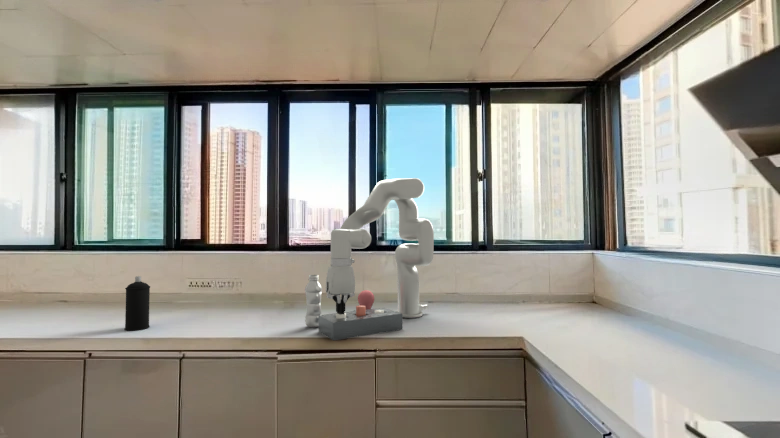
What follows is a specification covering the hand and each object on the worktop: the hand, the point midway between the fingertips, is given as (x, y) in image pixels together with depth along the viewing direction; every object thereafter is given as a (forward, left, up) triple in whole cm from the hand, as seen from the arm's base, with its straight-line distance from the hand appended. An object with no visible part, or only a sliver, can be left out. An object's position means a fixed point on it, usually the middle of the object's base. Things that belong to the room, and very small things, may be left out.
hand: (340, 313), depth 140 cm
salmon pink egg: (-8, 0, -4) cm, 9 cm away
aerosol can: (+64, -49, -8) cm, 81 cm away
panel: (-8, 0, -7) cm, 11 cm away
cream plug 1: (0, 0, -6) cm, 6 cm away
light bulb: (-19, -17, -7) cm, 27 cm away
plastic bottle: (+5, -15, -7) cm, 17 cm away
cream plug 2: (-16, 0, -7) cm, 18 cm away
